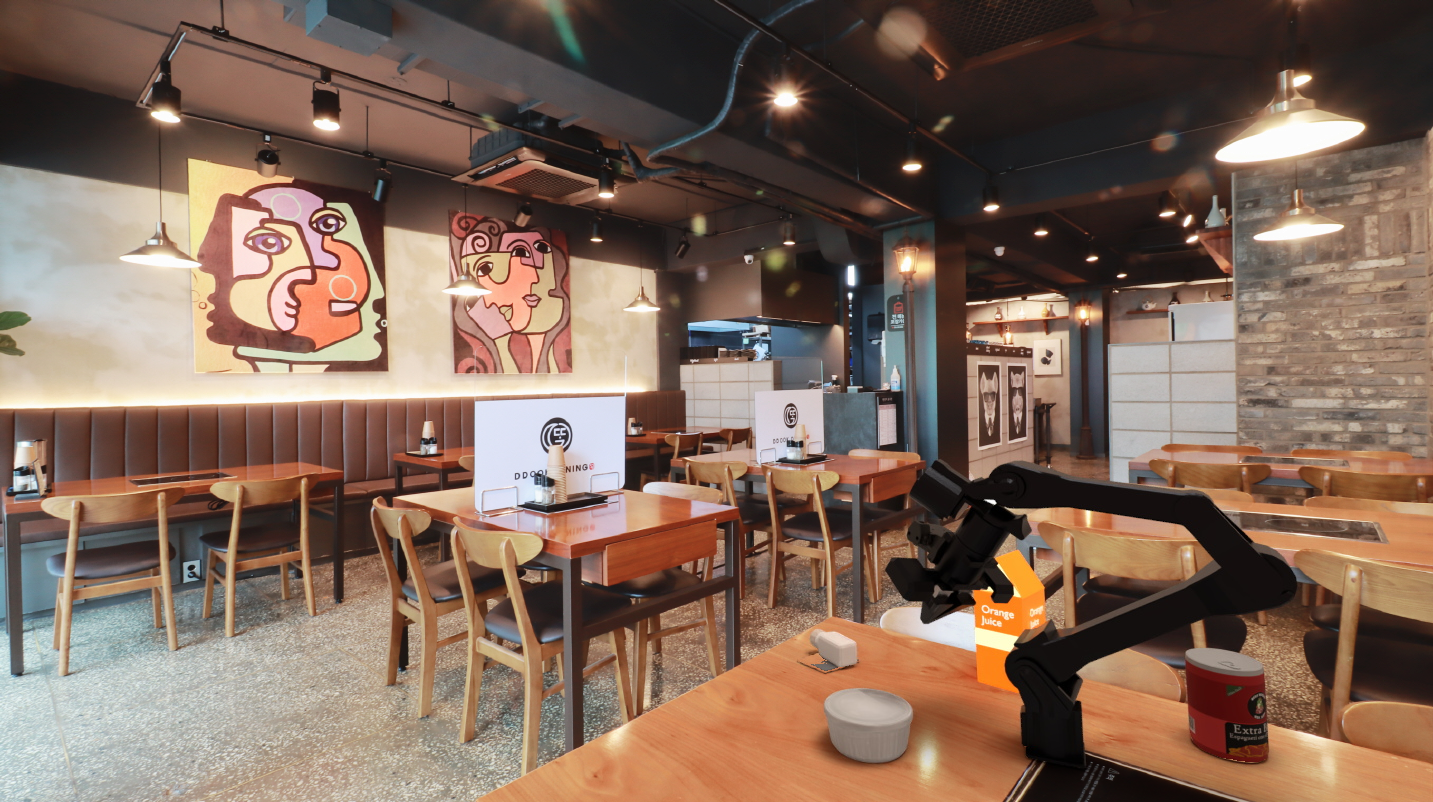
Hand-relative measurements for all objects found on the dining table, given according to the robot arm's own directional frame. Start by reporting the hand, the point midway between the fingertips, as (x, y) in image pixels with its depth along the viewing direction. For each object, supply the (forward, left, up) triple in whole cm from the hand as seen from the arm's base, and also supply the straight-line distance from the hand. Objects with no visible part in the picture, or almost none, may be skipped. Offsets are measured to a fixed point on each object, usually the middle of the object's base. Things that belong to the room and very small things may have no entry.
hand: (923, 621), depth 93 cm
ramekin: (+5, +13, -13) cm, 19 cm away
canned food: (-35, -4, -13) cm, 38 cm away
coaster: (+19, -12, -13) cm, 26 cm away
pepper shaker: (+14, -10, -10) cm, 20 cm away
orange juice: (-10, -16, -13) cm, 23 cm away
